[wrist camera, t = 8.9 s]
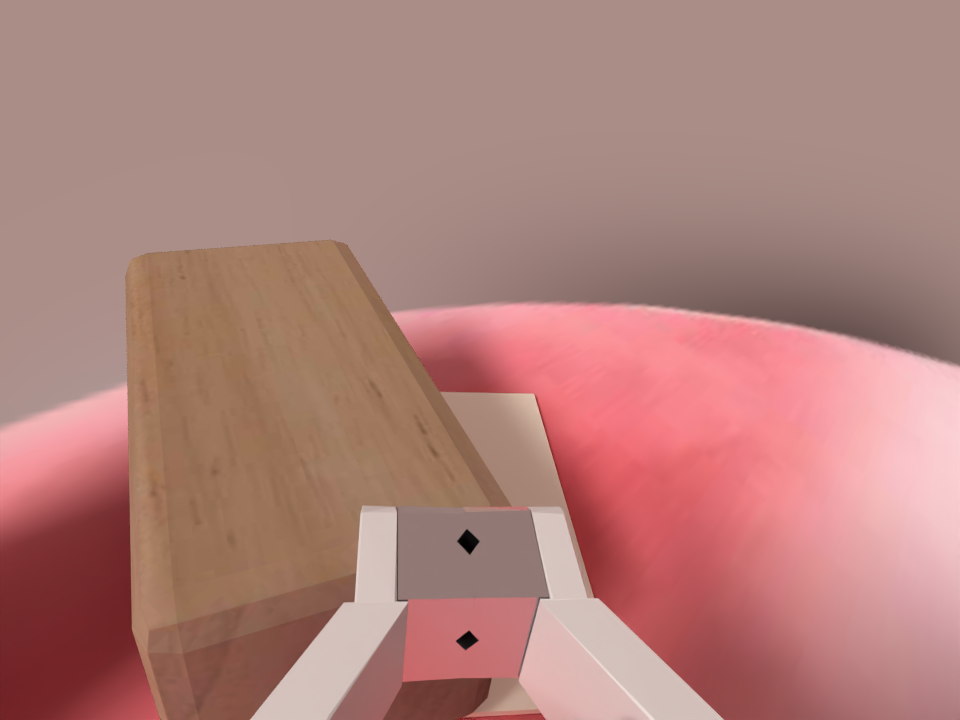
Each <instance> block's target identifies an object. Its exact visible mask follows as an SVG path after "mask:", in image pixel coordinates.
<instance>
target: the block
mask: <svg viewBox="0 0 960 720" xmlns="http://www.w3.org/2000/svg"><path fill="white" fill-rule="evenodd" d="M126 328H127V329H126V332H127V387H128V441H129V495H130V549H131V604H132V631H133V635H134V638H135V641H136V644H137V647H138V651H139V654H140V657H141V660H142V663H143V667H144V670H145V673H146V676H147V679H148V683H149V686H150V689H151V692H152V695H153V698H154V702H155V705H156V708H157V711H158V714H159V718H160V720H250V719H251V718H252V717H253V715H254V714H255V713H256V712H257V710H258V709H259V708H260V707H261V705H262V704H263V703H264V702H265V700H266V699H267V698H268V697H269V695H270V694H271V693H272V692H273V690H274V689H275V688H276V687H277V685H278V684H279V683H280V682H281V680H282V679H283V678H284V677H285V675H286V674H287V673H288V672H289V670H290V669H291V668H292V667H293V665H294V664H295V663H296V662H297V660H298V659H299V658H300V657H301V655H302V654H303V653H304V652H305V650H306V649H307V648H308V647H309V645H310V644H311V643H312V642H313V640H314V639H315V638H316V637H317V635H318V634H319V633H320V632H321V630H322V629H323V628H324V627H325V625H326V624H327V623H328V622H329V620H330V619H331V618H332V617H333V615H334V614H335V613H336V612H337V610H338V609H339V608H340V607H341V605H342V604H343V603H344V602H355V587H356V572H357V557H358V542H359V527H360V514H361V510H362V505H363V506H396V508H397V506H420V507H454V508H462V507H512V506H511V504H510V503H509V501H508V499H507V498H506V496H505V495H504V493H503V491H502V490H501V488H500V487H499V485H498V484H497V482H496V480H495V479H494V477H493V476H492V474H491V472H490V471H489V469H488V468H487V466H486V464H485V463H484V461H483V460H482V458H481V457H480V455H479V453H478V452H477V450H476V449H475V447H474V445H473V444H472V442H471V441H470V439H469V438H468V436H467V434H466V433H465V431H464V430H463V428H462V426H461V425H460V423H459V422H458V420H457V418H456V417H455V415H454V414H453V412H452V411H451V409H450V407H449V406H448V404H447V403H446V401H445V399H444V398H443V396H442V395H441V393H440V391H439V390H438V388H437V387H436V385H435V384H434V382H433V380H432V379H431V377H430V376H429V374H428V372H427V371H426V369H425V368H424V366H423V364H422V363H421V361H420V360H419V358H418V357H417V355H416V353H415V352H414V350H413V349H412V347H411V345H410V344H409V342H408V341H407V339H406V337H405V336H404V334H403V333H402V331H401V330H400V328H399V326H398V325H397V323H396V322H395V320H394V318H393V317H392V315H391V314H390V312H389V311H388V309H387V307H386V306H385V304H384V303H383V301H382V299H381V298H380V296H379V295H378V293H377V291H376V290H375V288H374V287H373V285H372V284H371V282H370V280H369V279H368V277H367V276H366V274H365V272H364V271H363V269H362V268H361V266H360V264H359V263H358V261H357V260H356V258H355V257H354V255H353V253H352V252H351V250H350V249H349V247H348V245H346V244H344V243H340V242H336V241H333V240H322V241H308V242H296V243H281V244H267V245H253V246H239V247H226V248H214V249H213V248H212V249H199V250H184V251H170V252H157V253H147V254H144V255H141V256H138V257H136V258H133V259H132V260H131V261H130V263H129V267H128V270H127V273H126ZM491 679H492V678H455V679H439V680H424V681H408V682H402V686H401V688H400V690H399V692H398V694H397V695H396V697H395V699H394V701H393V703H392V704H391V706H390V708H389V710H388V711H387V713H386V715H385V717H384V719H383V720H458V719H460V718H463V717H465V716H468V715H469V714H471V713H473V712H474V711H475V710H476V709H477V708H478V707H479V706H480V705H481V704H482V703H483V702H484V701H485V700H486V699H487V698H488V694H489V689H490V684H491Z"/></svg>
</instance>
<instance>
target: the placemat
mask: <svg viewBox="0 0 960 720" xmlns="http://www.w3.org/2000/svg"><path fill="white" fill-rule="evenodd" d="M440 393H441V395H442V396H443V398H444V399H445V401H446V403H447V404H448V406H449V407H450V409H451V411H452V412H453V414H454V415H455V417H456V418H457V420H458V422H459V423H460V425H461V426H462V428H463V430H464V431H465V433H466V434H467V436H468V438H469V439H470V441H471V442H472V444H473V445H474V447H475V449H476V450H477V452H478V453H479V455H480V457H481V458H482V460H483V461H484V463H485V464H486V466H487V468H488V469H489V471H490V472H491V474H492V476H493V477H494V479H495V480H496V482H497V484H498V485H499V487H500V488H501V490H502V491H503V493H504V495H505V496H506V498H507V499H508V501H509V503H510V504H511V506H512V507H526V508H527V507H561V509H562V510H563V511H564V513H565V516H566V520H567V523H568V527H569V530H570V534H571V537H572V541H573V544H574V548H575V551H576V555H577V558H578V562H579V565H580V569H581V573H582V576H583V580H584V583H585V587H586V590H587V594H588V597H589V598H594V596H593V593H592V589H591V586H590V582H589V579H588V576H587V572H586V569H585V565H584V562H583V559H582V555H581V552H580V548H579V545H578V542H577V538H576V535H575V531H574V528H573V525H572V521H571V518H570V514H569V511H568V508H567V504H566V501H565V497H564V494H563V491H562V487H561V484H560V480H559V477H558V474H557V470H556V467H555V463H554V460H553V457H552V453H551V450H550V446H549V443H548V440H547V436H546V433H545V429H544V426H543V423H542V419H541V416H540V412H539V409H538V406H537V402H536V399H535V395H534V394H519V393H472V392H440ZM536 713H541V712H540V711H539V709H538V708H537V706H536V705H535V703H534V702H533V701H532V699H531V698H530V696H529V695H528V694H527V692H526V691H525V689H524V688H523V686H522V685H521V684H520V682H519V678H492V679H491V684H490V689H489V694H488V698H487V699H486V700H485V701H484V702H483V703H482V704H481V705H480V706H479V707H478V708H477V709H476V710H475V711H474V712H473V713H471V714H469V715H468V716H465V717H481V716H500V715H518V714H536Z"/></svg>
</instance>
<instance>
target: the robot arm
mask: <svg viewBox="0 0 960 720" xmlns="http://www.w3.org/2000/svg"><path fill="white" fill-rule="evenodd" d="M455 678H519V682H520V684H521V685H522V686H523V688H524V689H525V691H526V692H527V694H528V695H529V696H530V698H531V699H532V701H533V702H534V703H535V705H536V706H537V708H538V709H539V711H540V712H541V713H542V715H543V716H544V718H545V719H546V720H724V719H723V718H722V717H721V716H720V715H719V714H718V713H717V712H716V711H715V710H714V709H713V708H712V707H711V706H709V705H708V704H707V703H706V702H705V701H704V700H703V699H702V698H701V697H700V696H699V695H698V694H697V693H696V692H695V691H694V690H693V689H692V688H691V687H690V686H689V685H688V684H687V683H686V682H685V681H684V680H683V679H682V678H681V677H680V676H679V675H677V674H676V673H675V672H674V671H673V670H672V669H671V668H670V667H669V666H668V665H667V664H666V663H665V662H664V661H663V660H662V659H661V658H660V657H659V656H658V655H657V654H656V653H655V652H654V651H653V650H652V649H651V648H650V647H649V646H648V645H647V644H645V643H644V642H643V641H642V640H641V639H640V638H639V637H638V636H637V635H636V634H635V633H634V632H633V631H632V630H631V629H630V628H629V627H628V626H627V625H626V624H625V623H624V622H623V621H622V620H621V619H620V618H619V617H618V616H617V615H616V614H615V613H613V612H612V611H611V610H610V609H609V608H608V607H607V606H606V605H605V604H604V603H603V602H602V601H601V600H600V599H599V598H589V597H588V594H587V590H586V587H585V583H584V580H583V576H582V573H581V569H580V565H579V562H578V558H577V555H576V551H575V548H574V544H573V541H572V537H571V534H570V530H569V527H568V523H567V520H566V516H565V513H564V511H563V510H562V509H561V507H527V508H526V507H462V508H454V507H420V506H397V508H396V506H363V505H362V510H361V514H360V527H359V542H358V557H357V572H356V587H355V602H344V603H343V604H342V605H341V607H340V608H339V609H338V610H337V612H336V613H335V614H334V615H333V617H332V618H331V619H330V620H329V622H328V623H327V624H326V625H325V627H324V628H323V629H322V630H321V632H320V633H319V634H318V635H317V637H316V638H315V639H314V640H313V642H312V643H311V644H310V645H309V647H308V648H307V649H306V650H305V652H304V653H303V654H302V655H301V657H300V658H299V659H298V660H297V662H296V663H295V664H294V665H293V667H292V668H291V669H290V670H289V672H288V673H287V674H286V675H285V677H284V678H283V679H282V680H281V682H280V683H279V684H278V685H277V687H276V688H275V689H274V690H273V692H272V693H271V694H270V695H269V697H268V698H267V699H266V700H265V702H264V703H263V704H262V705H261V707H260V708H259V709H258V710H257V712H256V713H255V714H254V715H253V717H252V718H251V719H250V720H383V719H384V717H385V715H386V713H387V711H388V710H389V708H390V706H391V704H392V703H393V701H394V699H395V697H396V695H397V694H398V692H399V690H400V688H401V686H402V682H408V681H424V680H439V679H455Z"/></svg>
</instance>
